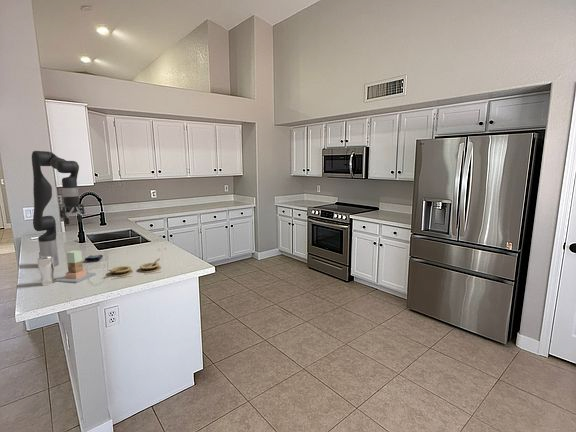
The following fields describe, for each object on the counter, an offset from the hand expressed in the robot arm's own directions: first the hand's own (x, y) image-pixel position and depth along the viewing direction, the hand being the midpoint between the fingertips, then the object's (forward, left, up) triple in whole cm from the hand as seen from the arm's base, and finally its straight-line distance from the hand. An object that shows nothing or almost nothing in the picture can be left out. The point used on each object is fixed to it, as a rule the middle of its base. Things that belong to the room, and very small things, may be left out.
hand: (73, 223), depth 182 cm
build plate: (+2, -4, -32) cm, 32 cm away
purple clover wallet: (-14, +26, -33) cm, 44 cm away
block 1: (+2, -4, -22) cm, 23 cm away
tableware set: (+28, +13, -33) cm, 46 cm away
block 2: (+2, -4, -28) cm, 28 cm away
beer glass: (-6, -15, -32) cm, 36 cm away
